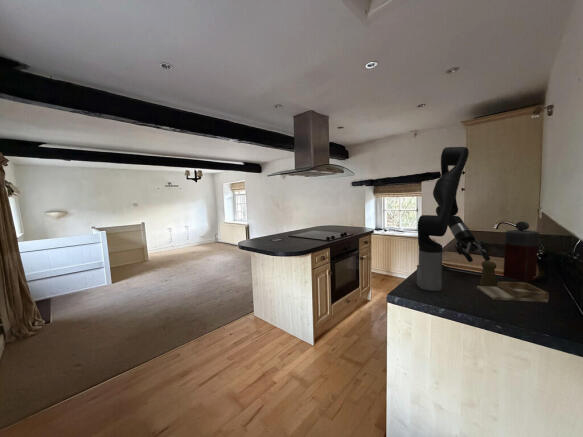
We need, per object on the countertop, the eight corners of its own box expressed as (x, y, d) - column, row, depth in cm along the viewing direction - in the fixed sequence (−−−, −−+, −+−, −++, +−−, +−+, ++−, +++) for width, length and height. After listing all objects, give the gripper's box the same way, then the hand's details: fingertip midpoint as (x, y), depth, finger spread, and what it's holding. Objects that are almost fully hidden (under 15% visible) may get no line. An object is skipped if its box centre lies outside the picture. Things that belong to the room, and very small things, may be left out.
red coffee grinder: (538, 278, 115) (542, 221, 113) (525, 281, 111) (529, 223, 109) (516, 273, 123) (519, 220, 121) (503, 276, 119) (505, 221, 117)
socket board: (493, 299, 94) (494, 290, 94) (476, 288, 105) (477, 280, 105) (549, 302, 90) (550, 293, 90) (525, 290, 102) (526, 282, 101)
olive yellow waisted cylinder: (499, 287, 105) (501, 263, 104) (484, 286, 107) (485, 263, 106) (491, 282, 111) (492, 259, 110) (476, 282, 112) (477, 259, 111)
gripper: (452, 230, 120) (470, 257, 110) (479, 228, 121) (499, 256, 110) (445, 238, 126) (461, 265, 115) (470, 237, 127) (488, 264, 116)
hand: (479, 260), depth 113 cm, fingers open, 8 cm apart
